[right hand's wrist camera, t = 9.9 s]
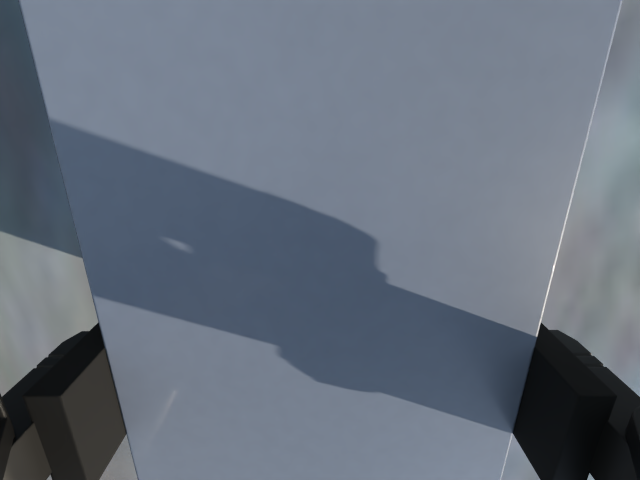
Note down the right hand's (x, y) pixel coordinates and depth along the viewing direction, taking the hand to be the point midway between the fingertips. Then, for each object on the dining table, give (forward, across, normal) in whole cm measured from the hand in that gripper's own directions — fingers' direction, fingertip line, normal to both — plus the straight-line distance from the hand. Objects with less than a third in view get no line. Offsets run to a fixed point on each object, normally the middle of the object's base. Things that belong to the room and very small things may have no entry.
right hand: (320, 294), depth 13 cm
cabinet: (+5, 0, -6) cm, 8 cm away
